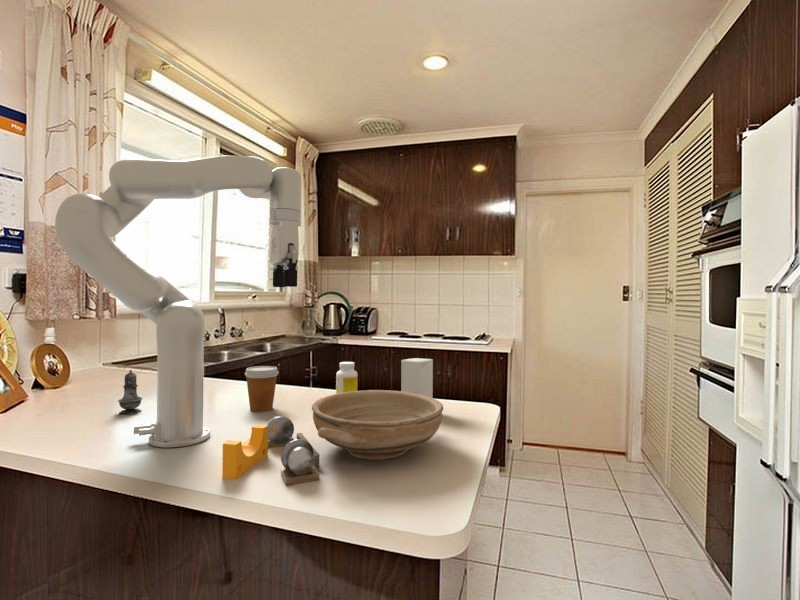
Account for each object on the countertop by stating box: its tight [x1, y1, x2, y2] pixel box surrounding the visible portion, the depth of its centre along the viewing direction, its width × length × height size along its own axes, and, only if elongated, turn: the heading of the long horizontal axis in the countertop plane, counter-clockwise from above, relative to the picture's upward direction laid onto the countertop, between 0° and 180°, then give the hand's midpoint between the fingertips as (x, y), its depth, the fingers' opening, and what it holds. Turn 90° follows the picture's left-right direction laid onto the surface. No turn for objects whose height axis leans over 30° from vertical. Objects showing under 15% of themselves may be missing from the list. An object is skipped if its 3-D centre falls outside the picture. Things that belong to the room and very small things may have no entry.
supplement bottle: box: [335, 361, 359, 394], centre depth 134 cm, size 7×7×13 cm
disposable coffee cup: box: [244, 365, 280, 413], centre depth 126 cm, size 10×10×12 cm
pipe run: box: [266, 415, 320, 486], centre depth 88 cm, size 8×26×6 cm, turn 26°
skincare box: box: [400, 357, 434, 398], centre depth 124 cm, size 8×7×16 cm
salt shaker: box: [117, 369, 143, 416], centre depth 121 cm, size 6×6×12 cm
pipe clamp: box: [221, 424, 269, 480], centre depth 84 cm, size 12×4×6 cm, turn 169°
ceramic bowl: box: [311, 389, 444, 461], centre depth 94 cm, size 37×29×10 cm
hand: (284, 286), depth 108 cm, fingers open, 9 cm apart
